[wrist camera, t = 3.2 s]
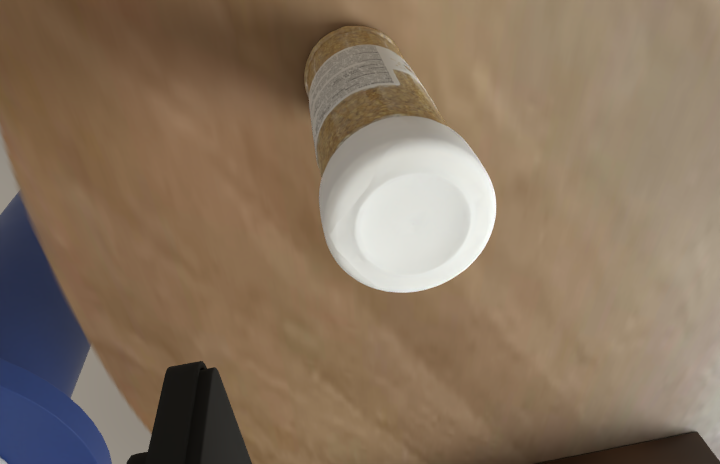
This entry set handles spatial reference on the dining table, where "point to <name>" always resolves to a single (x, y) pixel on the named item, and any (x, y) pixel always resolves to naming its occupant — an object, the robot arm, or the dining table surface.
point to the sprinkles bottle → (391, 168)
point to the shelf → (651, 453)
